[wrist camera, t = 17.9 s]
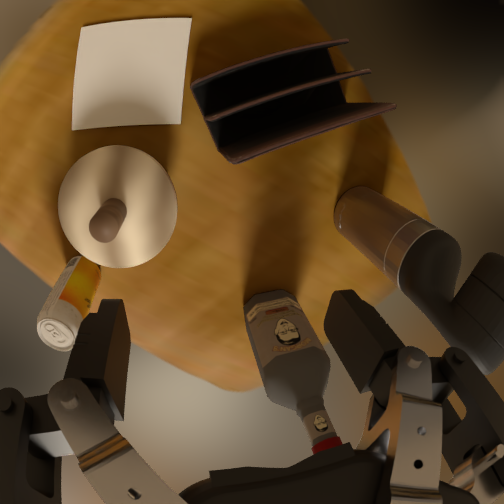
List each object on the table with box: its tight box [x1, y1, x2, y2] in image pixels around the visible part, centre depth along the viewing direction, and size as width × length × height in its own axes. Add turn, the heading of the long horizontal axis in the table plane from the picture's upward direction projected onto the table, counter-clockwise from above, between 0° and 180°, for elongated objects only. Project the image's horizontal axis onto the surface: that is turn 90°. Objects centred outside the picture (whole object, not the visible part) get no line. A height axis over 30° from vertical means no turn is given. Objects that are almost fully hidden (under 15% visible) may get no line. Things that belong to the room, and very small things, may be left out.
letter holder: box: [190, 39, 396, 164], centre depth 28 cm, size 10×20×14 cm, turn 110°
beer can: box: [37, 256, 101, 351], centre depth 33 cm, size 6×6×15 cm
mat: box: [72, 18, 192, 131], centre depth 28 cm, size 15×15×1 cm
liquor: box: [244, 289, 342, 454], centre depth 38 cm, size 9×9×30 cm
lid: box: [58, 145, 177, 268], centre depth 28 cm, size 15×15×6 cm
